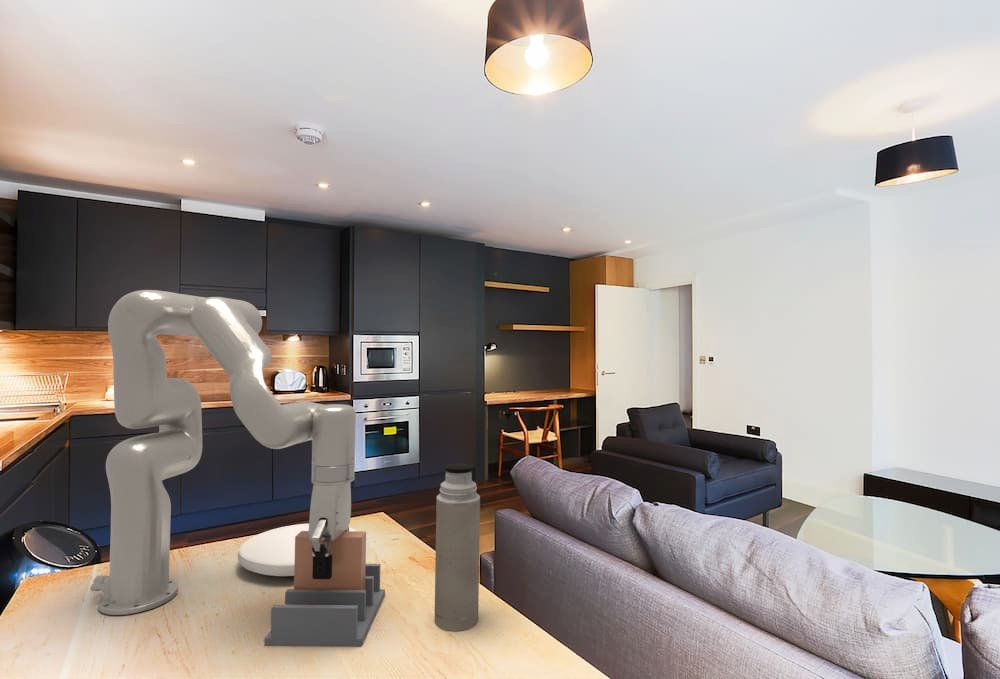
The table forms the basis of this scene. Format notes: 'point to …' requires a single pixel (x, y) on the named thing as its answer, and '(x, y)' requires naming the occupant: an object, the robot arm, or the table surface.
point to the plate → (272, 551)
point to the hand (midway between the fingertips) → (331, 566)
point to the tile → (344, 562)
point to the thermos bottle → (457, 550)
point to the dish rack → (326, 615)
